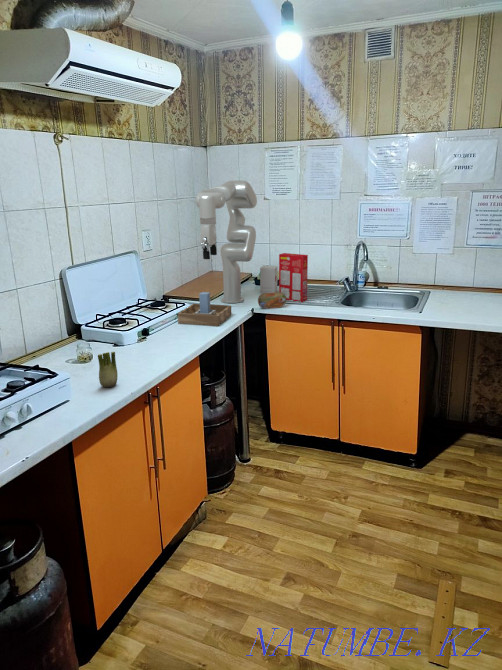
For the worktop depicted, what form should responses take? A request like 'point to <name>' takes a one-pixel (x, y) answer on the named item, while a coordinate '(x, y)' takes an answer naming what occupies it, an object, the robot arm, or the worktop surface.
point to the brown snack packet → (272, 300)
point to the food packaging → (293, 276)
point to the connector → (204, 302)
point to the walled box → (204, 315)
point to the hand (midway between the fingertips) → (210, 257)
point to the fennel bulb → (107, 369)
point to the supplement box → (268, 279)
